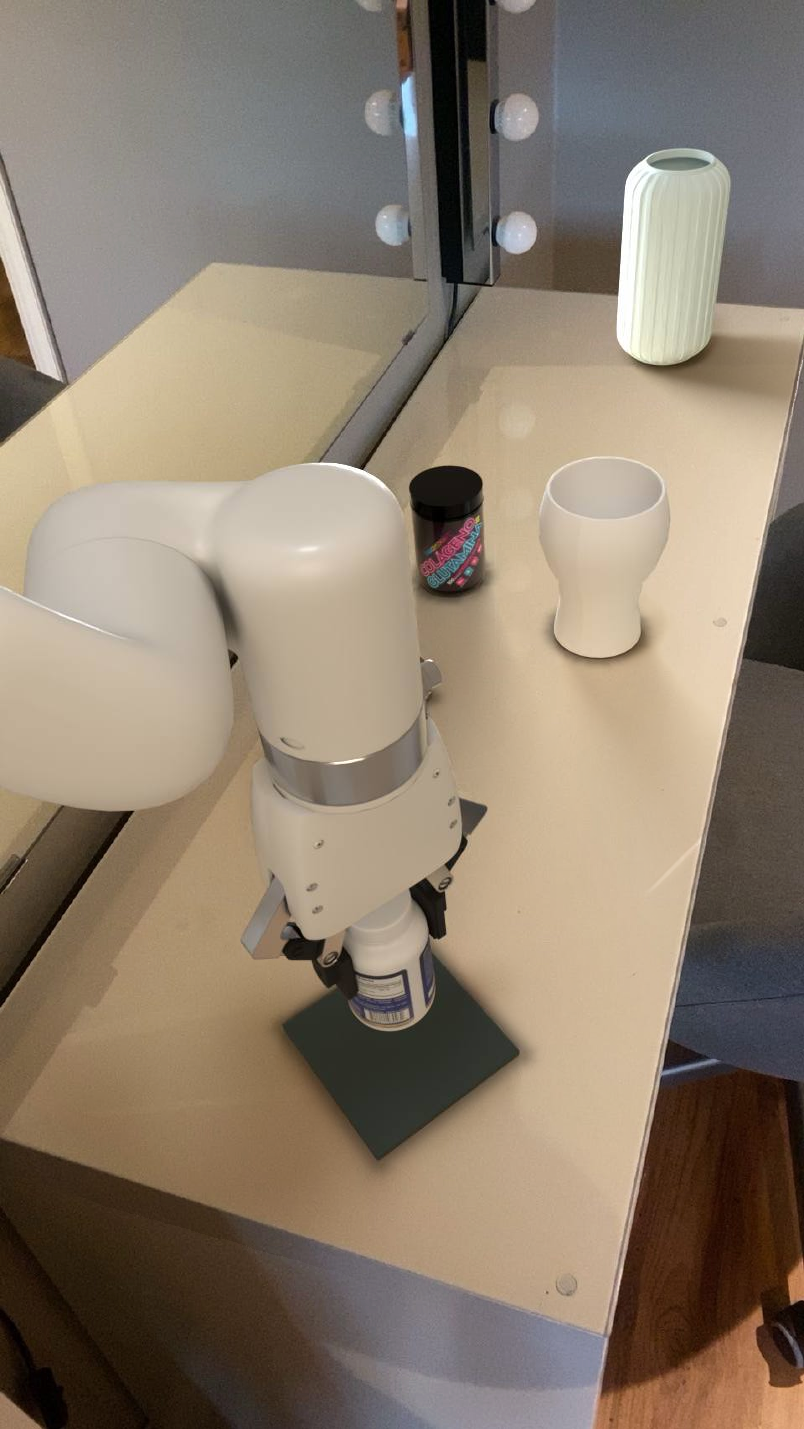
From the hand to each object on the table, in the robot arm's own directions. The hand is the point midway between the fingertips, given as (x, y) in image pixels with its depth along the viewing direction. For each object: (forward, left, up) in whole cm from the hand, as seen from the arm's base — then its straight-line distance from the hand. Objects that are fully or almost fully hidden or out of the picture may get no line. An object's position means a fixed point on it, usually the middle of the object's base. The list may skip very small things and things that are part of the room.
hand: (383, 948), depth 60 cm
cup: (+37, +22, -11) cm, 45 cm away
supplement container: (+32, +37, -11) cm, 50 cm away
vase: (+80, +56, -11) cm, 98 cm away
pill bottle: (0, 0, -5) cm, 5 cm away
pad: (0, 0, -11) cm, 11 cm away
